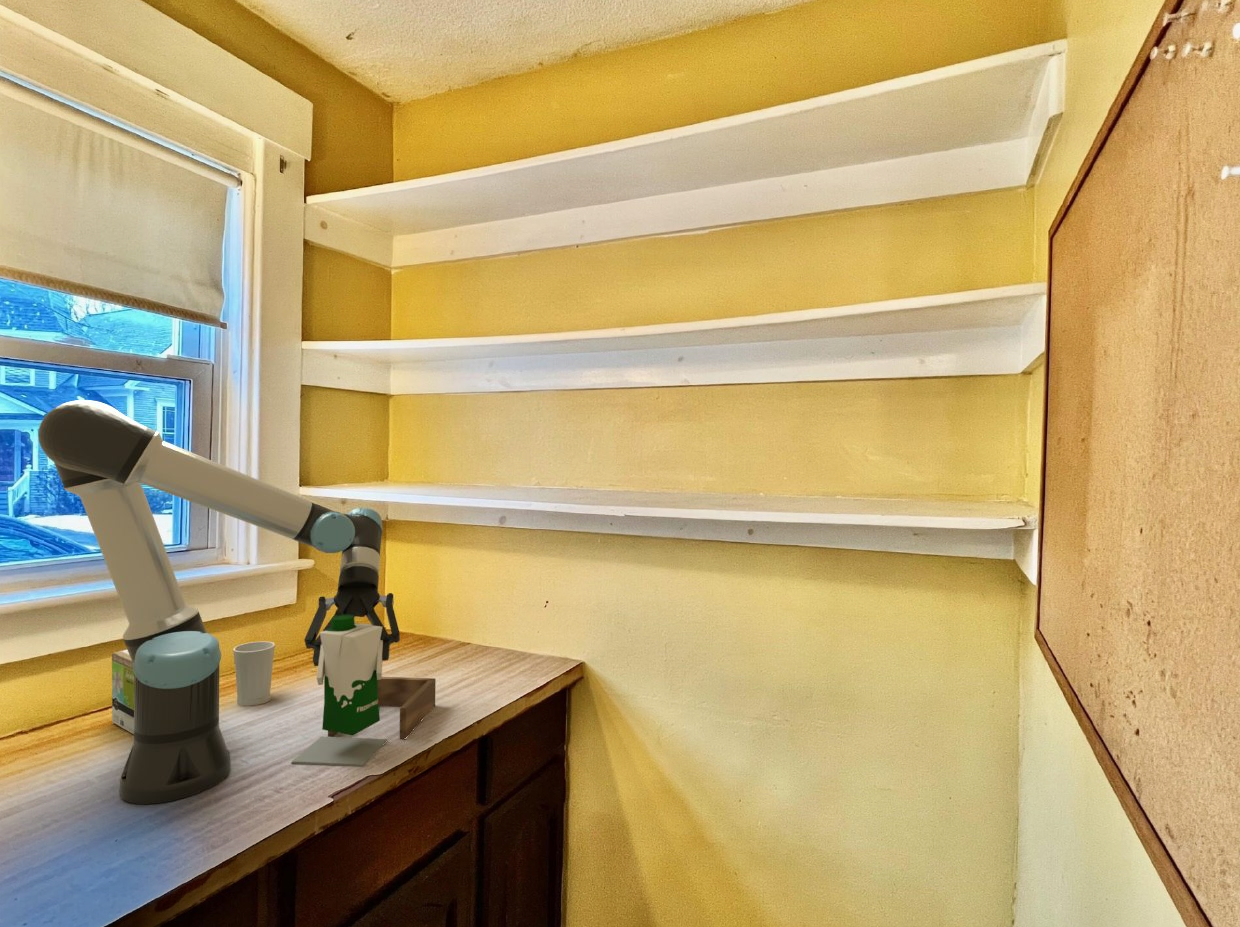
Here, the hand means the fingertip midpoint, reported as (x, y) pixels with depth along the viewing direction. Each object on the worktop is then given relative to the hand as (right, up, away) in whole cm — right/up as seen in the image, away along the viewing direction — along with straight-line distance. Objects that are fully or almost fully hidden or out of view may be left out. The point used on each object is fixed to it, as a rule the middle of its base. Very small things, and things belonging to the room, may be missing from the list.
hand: (349, 678), depth 113 cm
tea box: (-45, -14, +13) cm, 49 cm away
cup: (-32, -14, +26) cm, 44 cm away
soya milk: (-1, -10, +3) cm, 10 cm away
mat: (-3, -14, +2) cm, 15 cm away
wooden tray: (0, -14, +16) cm, 22 cm away
